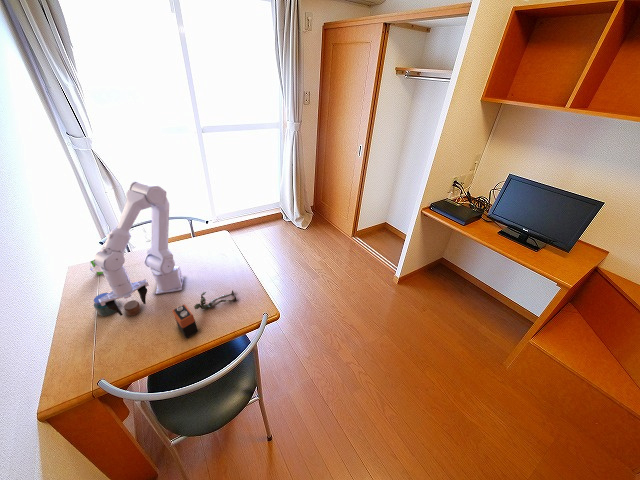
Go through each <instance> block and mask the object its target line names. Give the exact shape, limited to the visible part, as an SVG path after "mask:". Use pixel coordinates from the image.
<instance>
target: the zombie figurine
mask: <svg viewBox="0 0 640 480" xmlns="http://www.w3.org/2000/svg"><path fill="white" fill-rule="evenodd" d="M206 294H207V291H203V292H202V293H200V298H201V299H200V303H196V304H194V306H193V307H194V309H195V310H199V309H201V310H208V309H211V308H215V306H217V305H219V304H220V303H223V302H224V303H226V302H237V296H236V295H235V293H234V290H231V293H230V294H223V295H220V296H218V297H215V298H213V299H211V300H210V301H209V303H208V304H206V303H207V299H206V297H204V295H206ZM230 296H234V297H233V299H225V298H227V297H230Z"/></svg>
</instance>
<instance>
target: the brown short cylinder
mask: <svg viewBox="0 0 640 480" xmlns="http://www.w3.org/2000/svg"><path fill="white" fill-rule="evenodd" d="M123 309H124V311H125V313H126V315H127V316H135V315H137V314H139V313H140V312H141V310H142V306H141V304H140V302H139V300H137V299H132V300H128V301H127V302H126V303H125V304H124V305H123Z"/></svg>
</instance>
